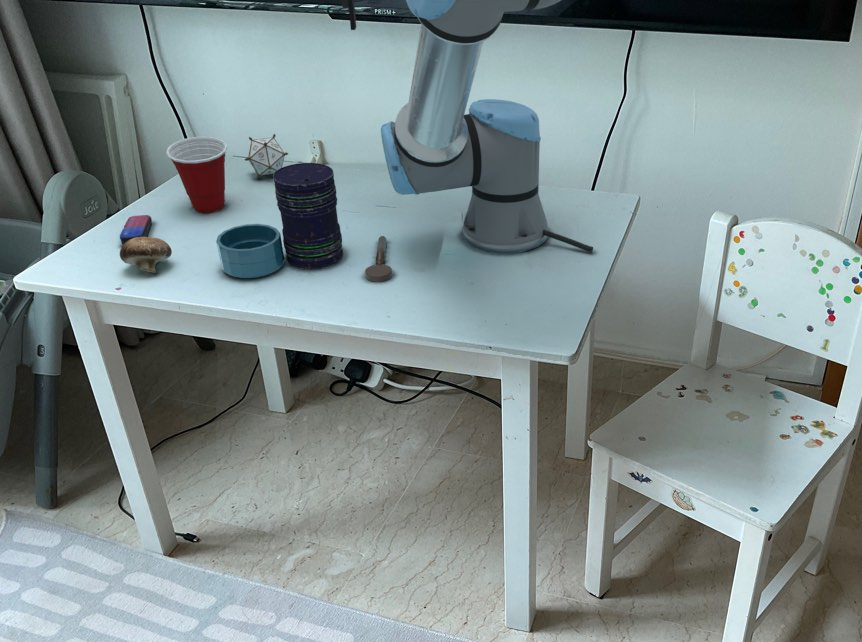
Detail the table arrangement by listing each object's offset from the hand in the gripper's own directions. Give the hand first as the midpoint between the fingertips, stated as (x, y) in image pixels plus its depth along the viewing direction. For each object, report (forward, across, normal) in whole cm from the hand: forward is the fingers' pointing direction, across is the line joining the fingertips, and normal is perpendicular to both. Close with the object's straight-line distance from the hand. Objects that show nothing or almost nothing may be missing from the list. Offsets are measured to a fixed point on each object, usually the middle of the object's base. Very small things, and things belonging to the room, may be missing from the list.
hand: (393, 27), depth 154 cm
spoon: (+33, +4, +24) cm, 41 cm away
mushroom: (+33, +43, +22) cm, 58 cm away
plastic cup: (+32, +38, -2) cm, 50 cm away
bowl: (+33, +25, +23) cm, 48 cm away
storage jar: (+33, +15, +20) cm, 42 cm away
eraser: (+33, +48, +9) cm, 59 cm away
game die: (+32, +29, -18) cm, 47 cm away
